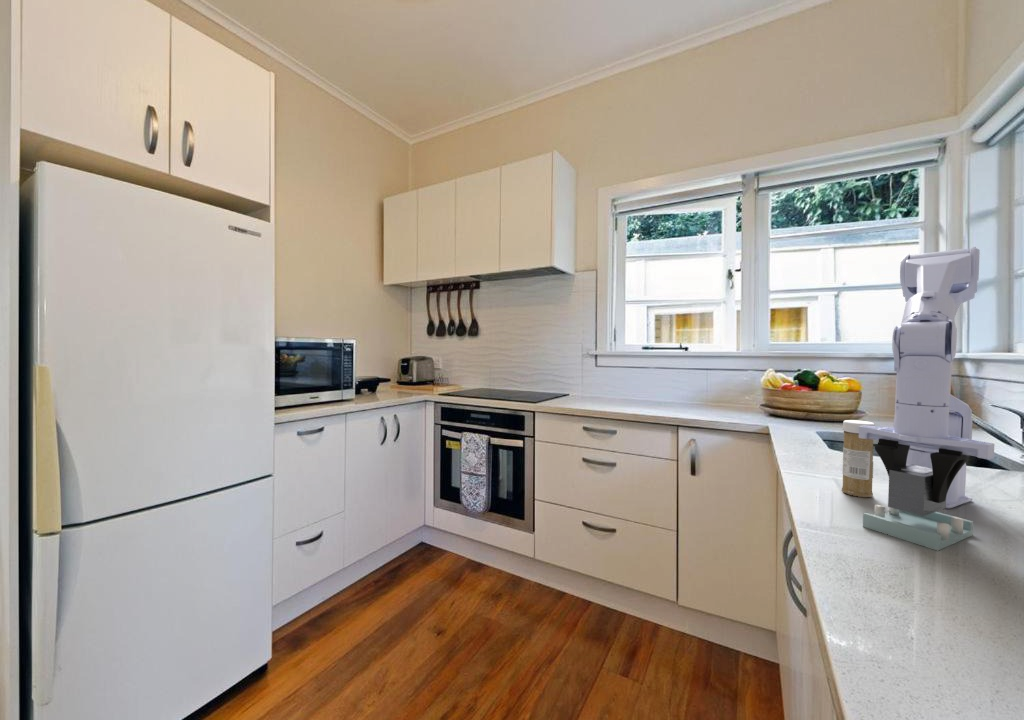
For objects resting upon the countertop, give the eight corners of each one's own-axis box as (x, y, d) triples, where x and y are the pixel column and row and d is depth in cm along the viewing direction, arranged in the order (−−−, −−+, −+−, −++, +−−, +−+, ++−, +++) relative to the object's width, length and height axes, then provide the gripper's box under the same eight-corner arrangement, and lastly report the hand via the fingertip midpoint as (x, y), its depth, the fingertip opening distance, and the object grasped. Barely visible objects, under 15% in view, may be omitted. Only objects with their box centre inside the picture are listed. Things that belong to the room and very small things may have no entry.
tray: (899, 514, 70) (899, 497, 70) (972, 535, 62) (973, 515, 62) (862, 526, 65) (863, 508, 65) (937, 550, 57) (938, 529, 57)
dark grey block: (911, 499, 66) (912, 463, 66) (945, 508, 63) (947, 470, 63) (888, 506, 63) (889, 469, 63) (923, 516, 60) (924, 476, 60)
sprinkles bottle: (876, 495, 79) (879, 422, 78) (867, 500, 76) (869, 424, 76) (846, 488, 82) (848, 418, 82) (836, 492, 80) (838, 420, 79)
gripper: (849, 399, 67) (846, 485, 68) (980, 412, 55) (976, 518, 55) (872, 397, 71) (870, 479, 71) (1002, 409, 58) (997, 509, 58)
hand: (917, 496), depth 63 cm, fingers closed on dark grey block, 4 cm apart
